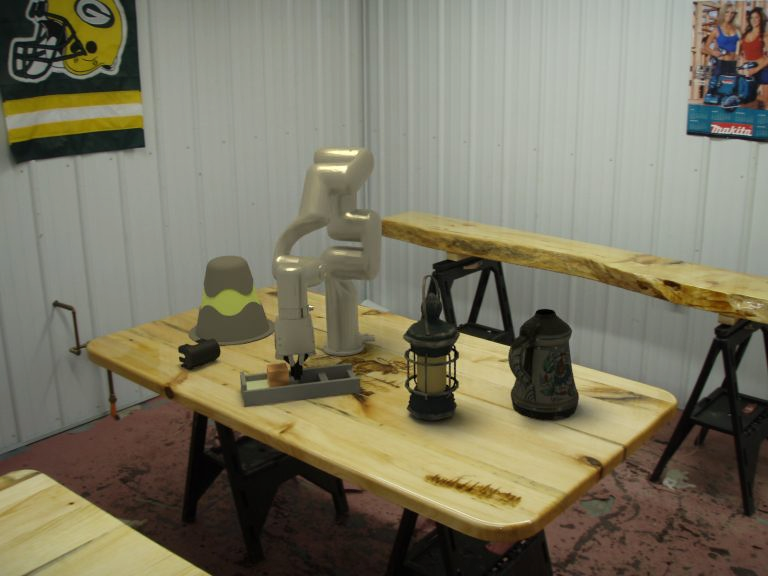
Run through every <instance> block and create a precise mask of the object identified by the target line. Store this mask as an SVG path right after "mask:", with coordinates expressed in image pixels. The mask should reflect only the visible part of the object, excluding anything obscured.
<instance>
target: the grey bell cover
mask: <svg viewBox="0 0 768 576" xmlns="http://www.w3.org/2000/svg"><path fill="white" fill-rule="evenodd" d="M201 297H202V298H201V304H200V307H199V309H198V316H197V322H196V325H195V326H193V327H192V328H191V329H190V330H189V332H188V338H189V339H190V340H191V341H192V342H195V341H196V340H199V339H202V338H203V339H206V340H210V339H215V340H216V341H217V342H218V344H219V346H236V345H243V344H249V343H253V342H257V341H259V340H262V339H264V338H268V337H269V336H271V335H272V334H273V333H274V331H275V321H274V320H272V319H269V318H267V315H266V311H265V309H264V306H263V304H262V301H261V300H260V298H259V295H258V292H257V289H256V286H255V283H254V278H253V274H252V272H251V269H250V266H249V263H248V261H247V260H246V259H245V258H244V257H242V256H238V255H221V256H217V257H214V258H212V259H211V260H209V261H208V262H207V264H206V268H205V274H204V281H203V292H202V296H201Z"/></svg>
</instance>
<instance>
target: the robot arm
mask: <svg viewBox="0 0 768 576" xmlns="http://www.w3.org/2000/svg"><path fill="white" fill-rule="evenodd" d="M374 167H375V158H374V154H373V152H372V151H371V150H370V149H368V148H367V147H361V146H360V147H356V146H355V147H353V146H351V147H350V146H324V147H323V146H322V147H319V148H317V149H316V150H315V152H314V154H313V164H312V165H310V166H309V167H308V169H307V170H306V172H305V173H306V174H305V177H304V183H303V188H302V194H301V198H300V199H301V200H300V205H299V210H298V215H297V216H296V217H295V219H294V220H292V221H291V222H290V223H289V224H288V225H287V226H286V227H285V229H283V231H282V232H281V234H280V235H279V237H278V239H277V241H276V243H275V247H274V251H273V252H274V253H273V256H272V257H273V258H272V263H271V264H272V265H271V273H272V277H273V278H274V280H275V281H276V291H277V293H276V294H277V306H278V307H277V309H278V310H277V311H278V315H276V316H275V321H274V323H275V331H274V332H273V333H274V337H273V338H274V349H275V354H274V358H275V360H276V361H277V360H278V361H284V362H285V363H286V364H287V365H288V364H289V368H290V369H289V370H290V371H291V377H292V376H293V377H294V380H297V378H298V379H299V380H301V375H303V369H304V367H303V365H304V364H305V362H306V360H308V359H309V358H311V357H314V356H316V355H317V351H316V338H315V330H314V324H313V319H312V315H311V313H310V312H311V311H314V308H315V307H314V305H313V304H312V305H311V304H309V303H308V302H309V301H308V288H312V287H316V286H318V285H321V284H322V283H324V293H325V294H324V298H325V299H324V301H325V320H326V321H325V322H326V341H325V342H323V344H322V348H321V349H322V351H323V352H324V353H325V354H327V355H330V356H334V357H335V356H336V357H337V356H338V357H345V356H353V355H357V354H359V353H361V352H363V351H364V350H365V343H366V342H369V343H370V342H371V343H372V342H375V340H376V338H375V335H374V334H369V333H363V334H361V333H360V332H359V329H360V327H359V301H358V299H359V298H358V296H359V295H358V290H357V288H356V286H355V284H354V282H353V280H354V281H373V280H376V279H377V278H378V276H379V274H380V271H381V259H382V255H381V254H382V238H383V237H382V234H383V230H382V228H383V226H382V224H383V223H382V219H381V216H380V214H379V213H378V212H377V211H375V210H374V209H373V210H372V209H368V208H367V209H366V208H358V192H359V190H361V188H362V187H363V186H364V185H365V183H366V182H367V181H368V179H369V178H370V177H371V175H372V174H373V171H374ZM324 227H326V231H327V235H328V237H329V238H330V239H331V240H334V241H339V242H348V243H350V242H351V243H361V245H362V246H351V245H331V246H327V247H326V248H325V249H324V250H322V253H320V257H315V256H304V255H294V254H291V251H292V249H293V247H294V246H295V244H296V243H297V242H298V241H299V240H300V239H302V238H303V237H305V236H307V235H308V234H311V233H313V232H315V231H318V230H320V229H323V228H324ZM294 356H297V360H296V361H295V360H294V359H295V358H294Z"/></svg>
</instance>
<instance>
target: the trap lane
mask: <svg viewBox="0 0 768 576" xmlns="http://www.w3.org/2000/svg"><path fill="white" fill-rule="evenodd" d="M288 370H289V385H287V386H278V387H270V388H269V385H268V380H267V372H260V373H252V374H245V371H239V377H240V390H241V395H242V396H241V397H242V401H243V402H242V403H243V406H244V408H246V407H253V406H255V407H256V406H262V405H270V404H276V403H277V404H279V403H285V402H295V401H302V400H303V401H304V400H311V399H317V398H318V399H319V398H329V397H337V396H344V395H349V394H350V395H351V394H352V395H353V394H361V377H360V376H357V375H356V374H355V372H354V371H353V364H352V362H348V363H341V364H332V365H331V364H330V365H323V366H322V365H321V366H313V367H312V366H311V367H306V368H304V367H303V375H301V380H299V379H298V378H297V380H294V377H293V376H292V377H291V371H290V369H288Z"/></svg>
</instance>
